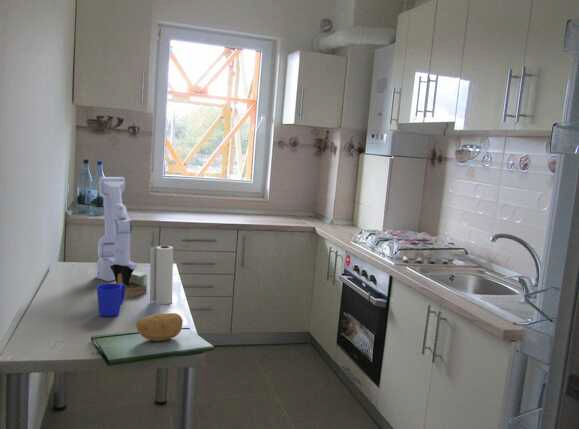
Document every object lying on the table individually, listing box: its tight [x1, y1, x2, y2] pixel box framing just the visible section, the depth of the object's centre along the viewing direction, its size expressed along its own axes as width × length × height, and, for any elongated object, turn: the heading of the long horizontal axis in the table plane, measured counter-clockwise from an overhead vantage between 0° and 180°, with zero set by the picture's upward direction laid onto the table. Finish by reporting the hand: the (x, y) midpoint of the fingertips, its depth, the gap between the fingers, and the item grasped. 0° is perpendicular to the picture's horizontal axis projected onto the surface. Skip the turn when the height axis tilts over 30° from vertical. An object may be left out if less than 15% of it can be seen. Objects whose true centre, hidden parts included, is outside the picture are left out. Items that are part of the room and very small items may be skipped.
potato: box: [135, 312, 184, 342], centre depth 167 cm, size 10×14×8 cm
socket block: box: [108, 281, 148, 299], centre depth 214 cm, size 12×12×3 cm
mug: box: [96, 282, 125, 318], centre depth 190 cm, size 8×12×10 cm
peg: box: [118, 273, 127, 287], centre depth 213 cm, size 4×4×7 cm
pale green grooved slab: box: [129, 270, 148, 288], centre depth 217 cm, size 12×4×8 cm, turn 55°
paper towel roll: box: [149, 245, 174, 305], centre depth 203 cm, size 7×6×21 cm
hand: (122, 283), depth 213 cm, fingers closed on peg, 3 cm apart
